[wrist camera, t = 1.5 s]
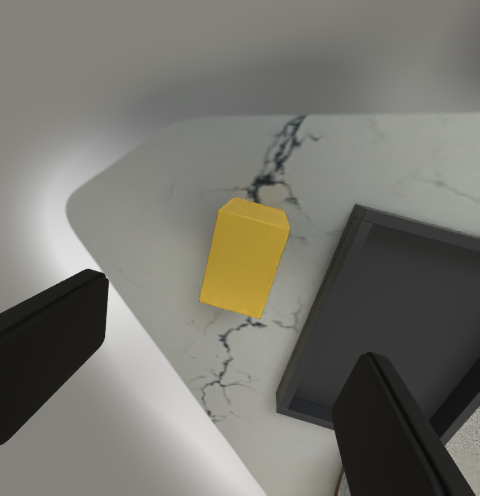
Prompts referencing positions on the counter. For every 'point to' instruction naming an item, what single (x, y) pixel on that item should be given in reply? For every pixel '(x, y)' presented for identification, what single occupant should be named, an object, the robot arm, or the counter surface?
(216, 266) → the sponge
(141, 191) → the counter surface
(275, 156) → the counter surface
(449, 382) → the tray
